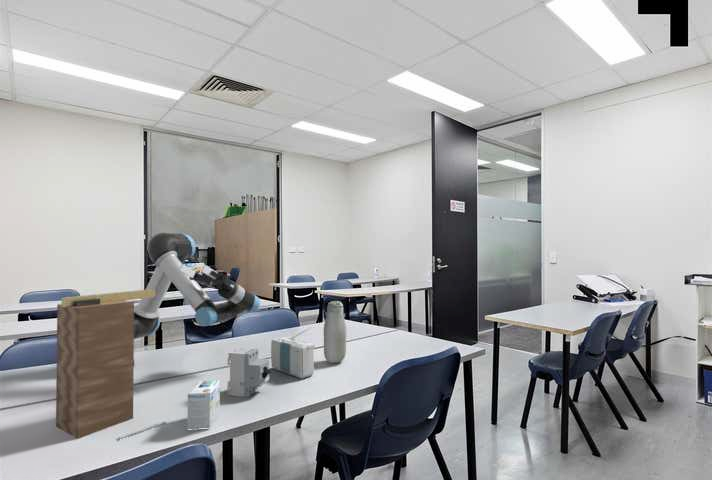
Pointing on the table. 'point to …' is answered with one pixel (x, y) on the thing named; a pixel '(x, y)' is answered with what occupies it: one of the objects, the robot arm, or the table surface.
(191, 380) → the table surface
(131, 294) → the light wood bar
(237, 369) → the circuit breaker
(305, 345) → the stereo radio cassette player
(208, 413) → the light bulb box
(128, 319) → the walnut stand
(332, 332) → the grey water bottle
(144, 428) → the ruler
